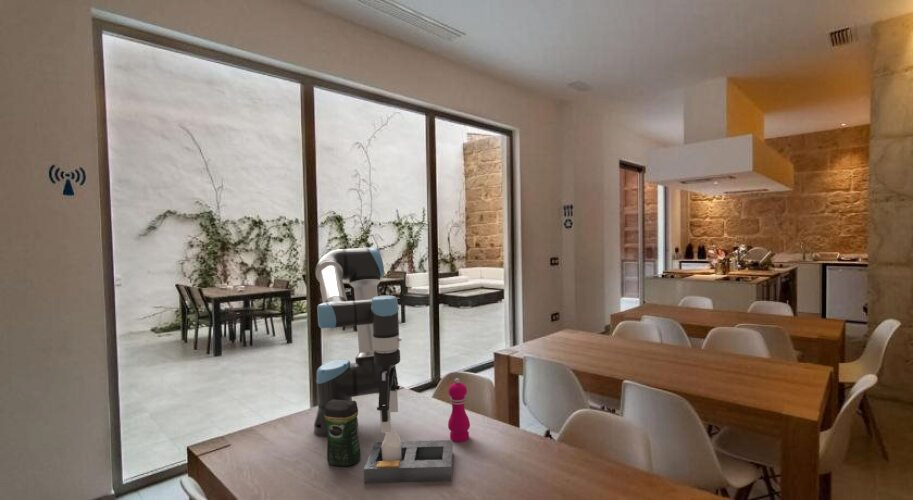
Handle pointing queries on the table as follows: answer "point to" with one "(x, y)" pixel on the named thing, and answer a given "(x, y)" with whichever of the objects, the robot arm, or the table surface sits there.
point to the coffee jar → (342, 432)
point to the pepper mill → (458, 413)
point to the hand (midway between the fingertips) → (390, 421)
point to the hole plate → (411, 463)
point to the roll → (391, 446)
